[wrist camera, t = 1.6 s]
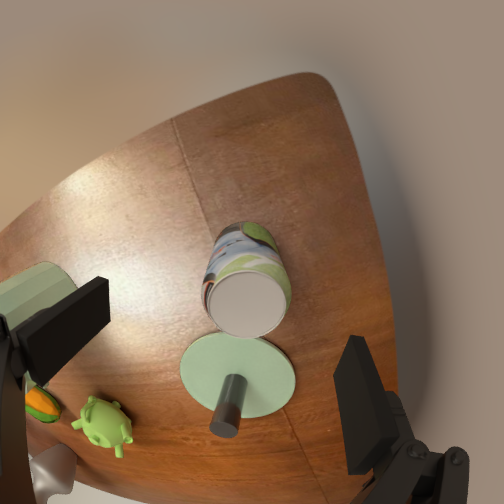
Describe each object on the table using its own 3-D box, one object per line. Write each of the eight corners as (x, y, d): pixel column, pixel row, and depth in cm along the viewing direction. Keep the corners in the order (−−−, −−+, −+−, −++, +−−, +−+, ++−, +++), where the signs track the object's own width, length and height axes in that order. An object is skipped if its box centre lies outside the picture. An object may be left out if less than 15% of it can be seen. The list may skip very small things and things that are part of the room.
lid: (185, 315, 31) (154, 363, 23) (309, 342, 31) (314, 399, 22) (180, 397, 36) (159, 443, 27) (279, 419, 35) (275, 470, 26)
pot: (16, 249, 33) (-49, 279, 19) (99, 279, 32) (21, 334, 18) (28, 320, 37) (-24, 359, 23) (107, 359, 36) (55, 422, 22)
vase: (87, 455, 50) (50, 514, 27) (89, 469, 55) (58, 521, 31) (47, 427, 50) (6, 479, 26) (52, 445, 55) (19, 492, 31)
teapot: (93, 378, 38) (67, 409, 30) (149, 416, 39) (130, 452, 30) (85, 405, 41) (64, 432, 33) (134, 438, 42) (117, 468, 34)
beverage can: (218, 217, 28) (172, 250, 16) (293, 223, 27) (298, 263, 16) (216, 276, 30) (177, 338, 18) (286, 283, 29) (285, 353, 17)
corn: (55, 437, 37) (2, 399, 38) (72, 418, 44) (19, 385, 46) (44, 415, 35) (-8, 377, 37) (63, 395, 42) (10, 363, 44)
